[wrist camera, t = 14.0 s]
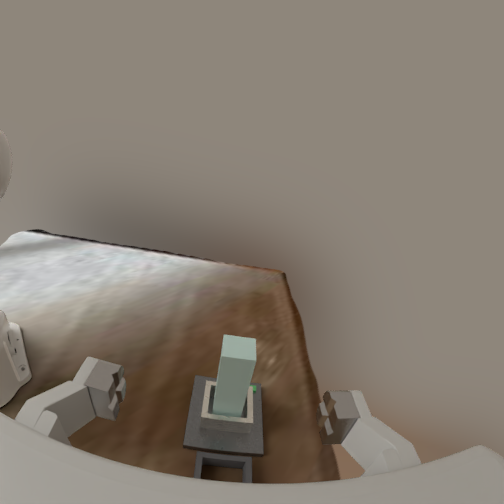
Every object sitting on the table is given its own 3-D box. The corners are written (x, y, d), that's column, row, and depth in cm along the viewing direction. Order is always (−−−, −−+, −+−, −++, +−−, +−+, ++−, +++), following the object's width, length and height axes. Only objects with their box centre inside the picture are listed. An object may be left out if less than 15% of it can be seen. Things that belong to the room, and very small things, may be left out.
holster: (248, 507, 26) (252, 502, 25) (191, 502, 26) (191, 497, 25) (248, 464, 33) (251, 457, 32) (196, 458, 32) (197, 451, 31)
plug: (238, 424, 38) (256, 360, 33) (211, 421, 38) (221, 356, 32) (239, 404, 42) (255, 338, 36) (213, 400, 41) (223, 334, 36)
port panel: (262, 456, 34) (268, 444, 32) (183, 447, 33) (183, 434, 32) (259, 387, 47) (264, 372, 45) (195, 378, 46) (196, 363, 45)
